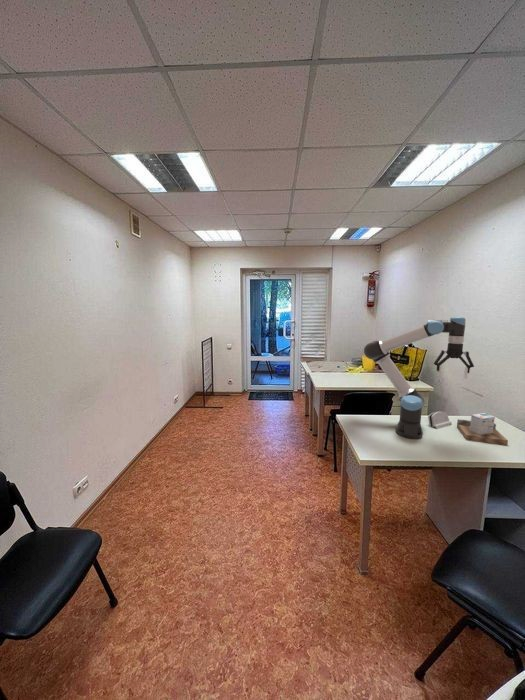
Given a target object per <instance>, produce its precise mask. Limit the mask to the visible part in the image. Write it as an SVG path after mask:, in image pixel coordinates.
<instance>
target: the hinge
mask: <svg viewBox="0 0 525 700" xmlns="http://www.w3.org/2000/svg"><path fill="white" fill-rule="evenodd" d="M427 419H428V426H429V427H434V428H435V429H436V430H440V429H443V428H446V427H450V426H452V425H453V424H452V421H450V418H449V415H448V413H447V412H446V411H433V412H432V413H430V414H429V415H427Z"/></svg>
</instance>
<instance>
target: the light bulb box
mask: <svg viewBox="0 0 525 700" xmlns="http://www.w3.org/2000/svg"><path fill="white" fill-rule="evenodd" d="M495 417H496V416H494V415H491V414H489V413H486V412H482V413H474V414H471V417H470V421H471V425H470V431H472V432H474V433H476V434H479V435H483V434H489V433H493V427H494V423H495V420H496V419H495Z"/></svg>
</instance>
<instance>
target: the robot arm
mask: <svg viewBox="0 0 525 700" xmlns="http://www.w3.org/2000/svg"><path fill="white" fill-rule="evenodd" d="M465 330H466V317H463V316H452V317H450V318H449V319H448V320H446V319H445V320H443V319H428V320H427V321H426V324H423V325H421V326H417V327H416V328H413V329H411V330H407V331H405V332H403V333H401V334H397V335H395V336H393V337H390V338H388V339H387V338H386V339H384V340H373V341H371V342H369V343H367V344H365V346H364V348H363V354H364V356H365V357H366V358H367V359H369V360H372V361H373V362H374V364H378V366H379V367H380V368H381V370H382V371H383V373H384V374H385V375H386V378H387V379H389V381H390V383H391V384H392V385H393V387H394V388H395V390H396V391H397V393H398V398H399V399H400V409H399V411H400V412H399V421H398V422H397V424H396V427H395V432H396V434H397V435H398V436H401V437H403V438H406V439H411V440H412V439H414V440H418V439H422V438H423V436H424V433H423V427H422V424H421V423H422V422H421V421H422V413H423V409H424V407H425V404H426V403H425V398H424V396H423V395H422V393H419V392H418V391H417V389H416V388H415V387H413V386H412V387H411V385H410V384H409V382H408V381H407V379H406V378H405V377H404V375H403V373H402V372H401V371H400V369H399V368H398V367H397V365H396V364H395V363H394V361H393V360H392V359H391V353H390V352H391V351H394V350H396V349H399V348H402V347H405V346H408V345H411V344H413V343H416V342H419V341H422V340H424V339H427V338H430V337H433V336H435V335H440V334H441V333H442V334H444V333H445V334H448V337H447V338H448V343H447V348H446V350H444V349H441V350H440V353H439V354H438V356H437V358H436V359H435V361H434V362H433V365H435V366H436V371H437V377H438V378H440V377H441V374H442V364H444V363H445V362H446V361H447V360H449V359H459V360H460V361H461V362H462V363H463V364H464V366H465V367H464V371H463V372H464V373H463V379H465V380H467V379H468V374H469V373H470V372H471V371H470V370H471V368H474V367H475V365H474V363H473V361H472V358H471V357H470V351H468V350H466V351H463V349H464V344H463V343H464V341H465V340H464V339H465ZM445 354H446V355H445ZM444 355H445V356H444ZM463 355H464V356H465V358H466V360H467V361H466V360H465V359H464V358H463ZM443 356H444V357H443ZM442 357H443V358H442Z"/></svg>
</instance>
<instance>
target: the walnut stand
mask: <svg viewBox="0 0 525 700" xmlns="http://www.w3.org/2000/svg"><path fill="white" fill-rule="evenodd" d="M470 425H471V419H470V420H469V419H468V420H467V419H460V418H457V423H456V429H457V430H458V432H459V433H460V434H461V436H462V437H463V438H464V440H466V441H473V442H480V443H481V442H482V443H486V444H487V443H488V444H494V445H502V446H508V441H509V440H508V439H507V438H506V437H505V436H504V435H502V433H501V432H499V430H497V429H496V428H497V423H495V422H494V427H493V433H489V434H483V435H479V434H476V433H474V432H472V431H470Z"/></svg>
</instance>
